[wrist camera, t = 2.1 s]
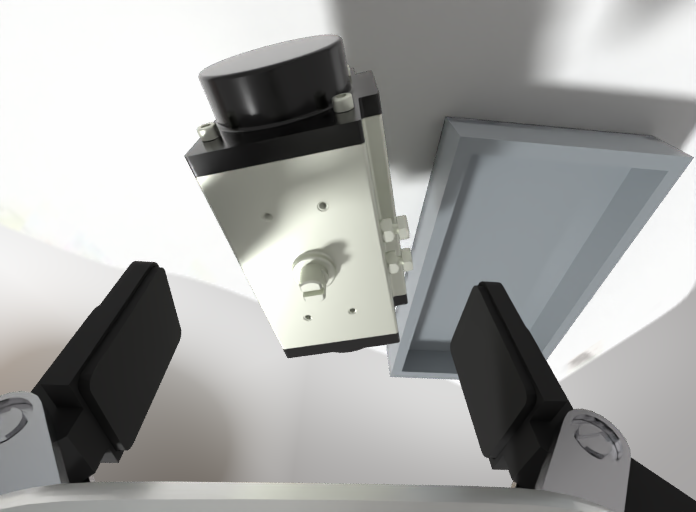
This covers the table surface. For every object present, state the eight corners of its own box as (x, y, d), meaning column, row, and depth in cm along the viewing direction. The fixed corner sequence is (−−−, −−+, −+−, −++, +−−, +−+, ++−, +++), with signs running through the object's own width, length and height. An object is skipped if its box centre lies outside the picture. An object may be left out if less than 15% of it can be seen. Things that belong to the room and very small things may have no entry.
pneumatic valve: (312, 234, 24) (293, 402, 15) (248, 35, 17) (131, 114, 7) (393, 220, 23) (429, 385, 14) (363, 7, 16) (394, 54, 7)
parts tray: (445, 116, 19) (460, 136, 17) (652, 136, 20) (693, 157, 18) (386, 346, 32) (390, 376, 29) (516, 352, 33) (530, 382, 30)
